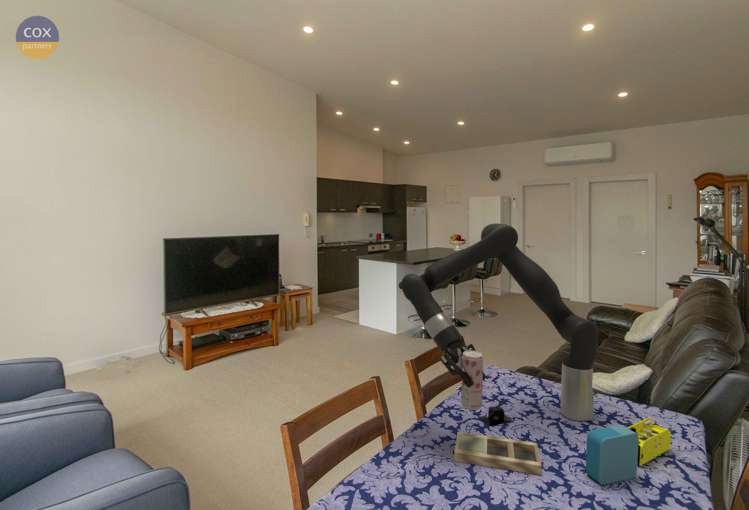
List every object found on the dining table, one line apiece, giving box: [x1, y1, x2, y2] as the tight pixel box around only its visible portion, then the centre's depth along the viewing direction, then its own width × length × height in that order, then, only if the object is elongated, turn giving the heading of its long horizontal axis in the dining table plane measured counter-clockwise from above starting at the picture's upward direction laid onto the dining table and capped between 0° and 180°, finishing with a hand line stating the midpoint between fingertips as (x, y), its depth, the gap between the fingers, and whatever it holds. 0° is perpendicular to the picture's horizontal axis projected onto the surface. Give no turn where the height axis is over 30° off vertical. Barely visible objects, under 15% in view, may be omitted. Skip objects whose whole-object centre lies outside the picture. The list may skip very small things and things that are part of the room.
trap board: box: [453, 431, 543, 476], centre depth 109 cm, size 22×11×3 cm, turn 74°
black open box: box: [479, 405, 515, 427], centre depth 129 cm, size 12×7×5 cm, turn 106°
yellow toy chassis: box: [627, 417, 672, 467], centre depth 110 cm, size 16×6×8 cm, turn 120°
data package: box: [585, 424, 639, 486], centre depth 100 cm, size 12×4×12 cm, turn 106°
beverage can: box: [460, 350, 484, 411], centre depth 110 cm, size 6×6×15 cm
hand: (477, 382), depth 108 cm, fingers closed on beverage can, 5 cm apart
